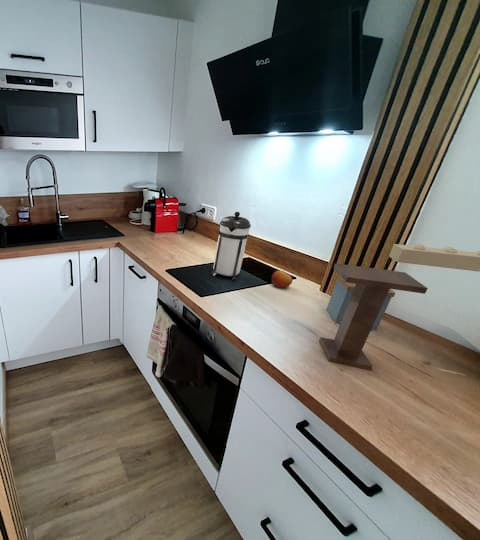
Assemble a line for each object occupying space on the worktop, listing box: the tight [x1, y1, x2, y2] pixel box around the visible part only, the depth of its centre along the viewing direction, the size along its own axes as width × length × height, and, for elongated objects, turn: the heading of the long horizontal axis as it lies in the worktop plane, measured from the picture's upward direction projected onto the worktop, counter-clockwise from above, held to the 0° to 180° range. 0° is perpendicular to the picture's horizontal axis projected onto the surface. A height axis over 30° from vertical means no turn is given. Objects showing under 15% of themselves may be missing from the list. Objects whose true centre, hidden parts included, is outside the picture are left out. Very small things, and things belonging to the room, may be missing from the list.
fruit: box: [271, 270, 293, 289], centre depth 124 cm, size 8×8×8 cm
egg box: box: [388, 243, 480, 272], centre depth 69 cm, size 22×4×5 cm, turn 71°
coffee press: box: [210, 211, 252, 282], centre depth 131 cm, size 17×16×30 cm
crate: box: [326, 273, 396, 331], centre depth 99 cm, size 13×11×14 cm
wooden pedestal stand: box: [318, 263, 429, 371], centre depth 79 cm, size 16×10×26 cm, turn 70°
